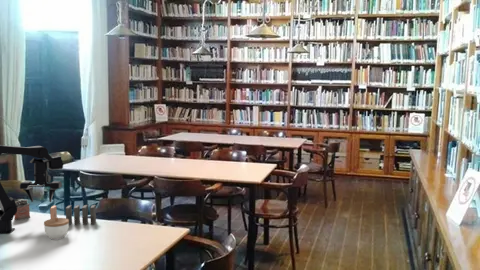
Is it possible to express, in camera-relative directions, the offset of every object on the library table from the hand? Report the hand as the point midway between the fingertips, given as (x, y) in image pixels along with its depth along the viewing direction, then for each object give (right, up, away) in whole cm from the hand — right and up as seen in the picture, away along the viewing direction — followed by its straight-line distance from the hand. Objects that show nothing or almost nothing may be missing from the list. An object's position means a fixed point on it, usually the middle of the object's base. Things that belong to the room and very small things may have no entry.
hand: (41, 201), depth 226 cm
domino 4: (+21, -12, +4) cm, 24 cm away
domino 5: (+25, -12, +4) cm, 28 cm away
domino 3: (+17, -12, +3) cm, 21 cm away
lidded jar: (+15, -14, -18) cm, 27 cm away
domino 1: (+5, -12, +2) cm, 13 cm away
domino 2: (+13, -12, +3) cm, 18 cm away
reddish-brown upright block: (-15, -11, +12) cm, 22 cm away
